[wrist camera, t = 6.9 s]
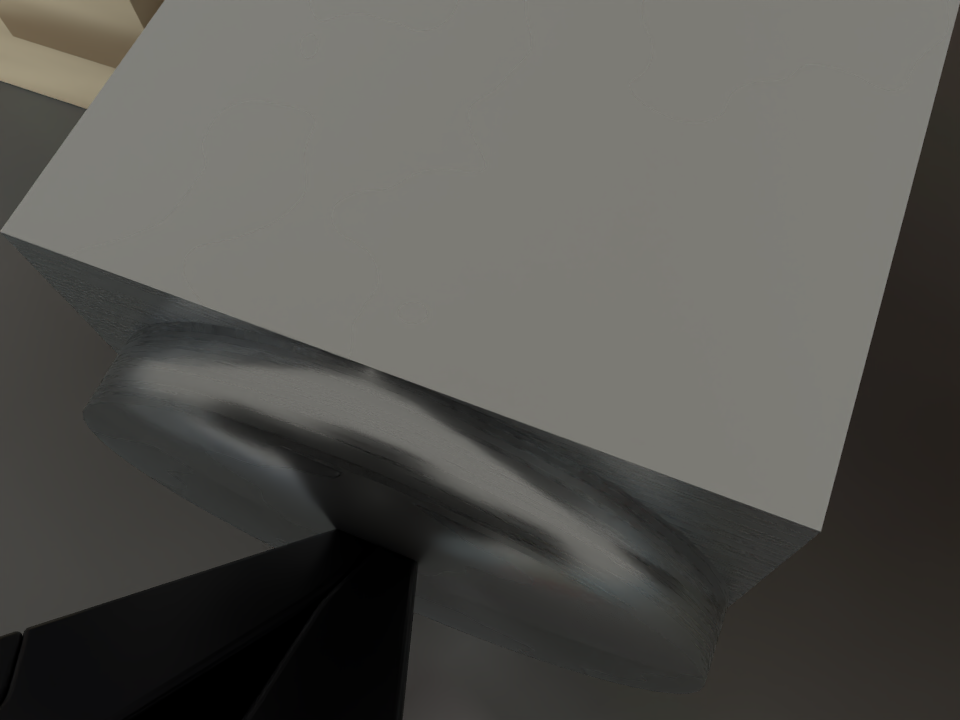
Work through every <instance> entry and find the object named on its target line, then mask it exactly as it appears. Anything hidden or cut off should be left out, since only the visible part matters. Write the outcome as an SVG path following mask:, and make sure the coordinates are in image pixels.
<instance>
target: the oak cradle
mask: <svg viewBox="0 0 960 720" xmlns="http://www.w3.org/2000/svg"><path fill="white" fill-rule="evenodd" d="M163 2H164V0H0V81H3V82H6V83H9V84H12V85H15V86H18V87H21V88H24V89H27V90H31V91H34V92H37V93H40V94H43V95H46V96H49V97H52V98H55V99H58V100H61V101H64V102H67V103H70V104H73V105H76V106H79V107H82V108H86V109H88V107H89V106H90V104H91V103H92V102H93V100H94V99H95V97H96V96H97V95H98V93H99V92H100V90H101V89H102V88H103V86H104V85H105V83H106V82H107V81H108V79H109V78H110V76H111V75H112V73H113V72H114V71H115V69H116V68H117V66H118V65H119V64H120V62H121V61H122V59H123V58H124V57H125V55H126V54H127V52H128V51H129V50H130V48H131V47H132V45H133V44H134V43H135V41H136V40H137V38H138V37H139V36H140V34H141V33H142V31H143V30H144V29H145V27H146V26H147V24H148V23H149V21H150V20H151V19H152V17H153V16H154V14H155V13H156V12H157V10H158V9H159V7H160V6H161V5H162V3H163Z"/></svg>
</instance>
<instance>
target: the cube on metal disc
mask: <svg viewBox="0 0 960 720" xmlns="http://www.w3.org/2000/svg"><path fill="white" fill-rule="evenodd" d="M959 4H960V0H164V2H163V3H162V5H161V6H160V7H159V9H158V10H157V12H156V13H155V14H154V16H153V17H152V19H151V20H150V21H149V23H148V24H147V26H146V27H145V29H144V30H143V31H142V33H141V34H140V36H139V37H138V38H137V40H136V41H135V43H134V44H133V45H132V47H131V48H130V50H129V51H128V52H127V54H126V55H125V57H124V58H123V59H122V61H121V62H120V64H119V65H118V66H117V68H116V69H115V71H114V72H113V73H112V75H111V76H110V78H109V79H108V81H107V82H106V83H105V85H104V86H103V88H102V89H101V90H100V92H99V93H98V95H97V96H96V97H95V99H94V100H93V102H92V103H91V104H90V106H89V107H88V109H87V110H86V111H85V113H84V114H83V116H82V117H81V118H80V120H79V121H78V123H77V124H76V125H75V127H74V128H73V130H72V131H71V133H70V134H69V135H68V137H67V138H66V140H65V141H64V142H63V144H62V145H61V147H60V148H59V149H58V151H57V152H56V154H55V155H54V156H53V158H52V159H51V161H50V162H49V163H48V165H47V166H46V168H45V169H44V170H43V172H42V173H41V175H40V176H39V177H38V179H37V180H36V182H35V183H34V185H33V186H32V187H31V189H30V190H29V192H28V193H27V194H26V196H25V197H24V199H23V200H22V201H21V203H20V204H19V206H18V207H17V208H16V210H15V211H14V213H13V214H12V215H11V217H10V218H9V220H8V221H7V222H6V224H5V225H4V227H3V228H2V229H1V231H0V232H1V233H2V234H3V235H4V237H5V238H6V239H7V240H8V241H9V242H10V243H11V244H12V245H13V246H14V247H15V248H16V249H17V250H18V251H19V252H20V253H21V254H22V255H23V256H24V257H25V258H26V259H27V260H28V261H29V262H30V263H31V265H32V266H33V267H34V268H35V269H36V270H37V271H38V272H39V273H40V274H41V275H42V276H43V277H44V278H45V279H46V280H47V281H48V282H49V283H50V284H51V285H52V286H53V287H54V288H55V289H56V290H57V291H58V293H59V294H60V295H61V296H62V297H63V298H64V299H65V300H66V301H67V302H68V303H69V304H70V305H71V306H72V307H73V308H74V309H75V310H76V311H77V312H78V313H79V314H80V315H81V316H82V317H83V318H84V319H85V321H86V322H87V323H88V324H89V325H90V326H91V327H92V328H93V329H94V330H95V331H96V332H97V333H98V334H99V335H100V336H101V337H102V338H103V339H104V340H105V341H106V342H107V343H108V344H109V345H110V346H111V347H112V349H113V350H114V351H115V352H116V353H117V354H118V355H117V357H116V358H115V360H114V362H113V363H112V365H111V367H110V368H109V370H108V372H107V373H106V375H105V376H104V378H103V380H102V381H101V383H100V385H99V386H98V388H97V389H96V391H95V393H94V394H93V396H92V398H91V399H90V401H89V402H88V404H87V406H86V407H85V409H84V411H83V418H84V421H85V422H86V424H87V425H88V427H89V428H90V430H91V431H92V432H93V433H94V434H95V435H96V436H97V437H98V438H99V439H100V440H101V441H102V442H103V443H105V444H106V445H107V446H108V447H109V448H110V449H112V450H113V451H114V452H115V453H117V454H118V455H119V456H121V457H122V458H123V459H125V460H126V461H127V462H129V463H130V464H131V465H133V466H134V467H136V468H137V469H139V470H140V471H142V472H143V473H145V474H146V475H148V476H149V477H151V478H152V479H154V480H155V481H157V482H158V483H160V484H162V485H163V486H165V487H166V488H168V489H170V490H171V491H173V492H174V493H176V494H178V495H179V496H181V497H183V498H185V499H186V500H188V501H190V502H191V503H193V504H195V505H196V506H198V507H200V508H202V509H203V510H205V511H207V512H209V513H211V514H212V515H214V516H216V517H218V518H220V519H221V520H223V521H225V522H227V523H229V524H231V525H232V526H234V527H236V528H238V529H240V530H242V531H244V532H245V533H247V534H249V535H251V536H253V537H255V538H257V539H259V540H261V541H263V542H265V543H267V544H269V545H271V546H273V547H274V548H277V547H280V546H283V545H287V544H290V543H293V542H296V541H299V540H302V539H305V538H308V537H311V536H314V535H318V534H321V533H324V532H327V531H330V530H333V529H339V530H342V531H344V532H346V533H349V534H351V535H354V536H356V537H359V538H361V539H364V540H366V541H369V542H371V543H372V544H374V545H375V546H376V547H378V546H381V547H383V548H386V549H388V550H391V551H393V552H396V553H398V554H401V555H403V556H406V557H408V558H411V559H413V560H415V561H417V562H418V572H417V582H416V592H415V602H414V611H413V612H415V613H418V614H420V615H423V616H425V617H428V618H430V619H432V620H435V621H437V622H440V623H442V624H445V625H447V626H450V627H452V628H455V629H457V630H460V631H462V632H465V633H467V634H470V635H472V636H475V637H478V638H480V639H483V640H486V641H488V642H491V643H494V644H496V645H499V646H502V647H504V648H507V649H510V650H513V651H515V652H518V653H521V654H524V655H527V656H530V657H532V658H535V659H538V660H541V661H544V662H547V663H550V664H553V665H556V666H559V667H562V668H566V669H569V670H572V671H576V672H579V673H582V674H585V675H589V676H592V677H596V678H599V679H603V680H607V681H610V682H614V683H618V684H623V685H627V686H631V687H635V688H640V689H646V690H651V691H656V692H665V693H674V694H689V693H693V692H697V691H700V690H701V689H702V688H703V687H704V685H705V682H706V678H707V675H708V671H709V668H710V665H711V661H712V658H713V654H714V651H715V648H716V644H717V641H718V637H719V634H720V630H721V627H722V624H723V620H724V617H725V613H726V610H727V608H728V607H729V606H730V605H731V604H733V603H734V602H735V601H736V600H737V599H739V598H740V597H741V596H742V595H744V594H745V593H746V592H747V591H749V590H750V589H751V588H752V587H754V586H755V585H756V584H757V583H758V582H760V581H761V580H762V579H763V578H765V577H766V576H767V575H768V574H770V573H771V572H772V571H773V570H774V569H776V568H777V567H778V566H779V565H781V564H782V563H783V562H784V561H786V560H787V559H788V558H789V557H790V556H792V555H793V554H794V553H795V552H797V551H798V550H799V549H800V548H802V547H803V546H804V545H805V544H806V543H808V542H809V541H810V540H811V539H813V538H814V537H815V536H816V535H818V534H819V533H820V532H821V530H822V526H823V522H824V518H825V514H826V511H827V507H828V503H829V499H830V495H831V492H832V488H833V484H834V480H835V476H836V472H837V469H838V465H839V461H840V457H841V453H842V450H843V446H844V442H845V438H846V434H847V431H848V427H849V423H850V419H851V415H852V412H853V408H854V404H855V400H856V396H857V393H858V389H859V385H860V381H861V377H862V373H863V370H864V366H865V362H866V358H867V354H868V351H869V347H870V343H871V339H872V335H873V332H874V328H875V324H876V320H877V316H878V313H879V309H880V305H881V301H882V297H883V294H884V290H885V286H886V282H887V278H888V274H889V271H890V267H891V263H892V259H893V255H894V252H895V248H896V244H897V240H898V236H899V233H900V229H901V225H902V221H903V217H904V214H905V210H906V206H907V202H908V198H909V195H910V191H911V187H912V183H913V179H914V175H915V172H916V168H917V164H918V160H919V156H920V153H921V149H922V145H923V141H924V137H925V134H926V130H927V126H928V122H929V118H930V115H931V111H932V107H933V103H934V99H935V96H936V92H937V88H938V84H939V80H940V76H941V73H942V69H943V65H944V61H945V57H946V54H947V50H948V46H949V42H950V38H951V35H952V31H953V27H954V23H955V19H956V16H957V12H958V8H959Z"/></svg>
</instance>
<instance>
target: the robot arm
mask: <svg viewBox="0 0 960 720" xmlns="http://www.w3.org/2000/svg"><path fill="white" fill-rule="evenodd" d="M417 572H418V562H417V561H415V560H413V559H411V558H408V557H406V556H403V555H401V554H398V553H396V552H393V551H391V550H388V549H386V548H383V547H381V546H378V547H376V546H375V545H374V544H372V543H371V542H369V541H366V540H364V539H361V538H359V537H356V536H354V535H351V534H349V533H346V532H344V531H342V530H339V529H333V530H330V531H327V532H324V533H321V534H318V535H314V536H311V537H308V538H305V539H302V540H299V541H296V542H293V543H290V544H287V545H283V546H280V547H277V548H274V549H271V550H268V551H265V552H262V553H259V554H255V555H252V556H249V557H246V558H243V559H240V560H237V561H234V562H231V563H228V564H224V565H221V566H218V567H215V568H212V569H209V570H206V571H203V572H200V573H197V574H193V575H190V576H187V577H184V578H181V579H178V580H175V581H172V582H169V583H166V584H162V585H159V586H156V587H153V588H150V589H147V590H144V591H141V592H138V593H134V594H131V595H128V596H125V597H122V598H119V599H116V600H113V601H110V602H107V603H103V604H100V605H97V606H94V607H91V608H88V609H85V610H82V611H79V612H76V613H72V614H69V615H66V616H63V617H60V618H57V619H54V620H51V621H48V622H44V623H41V624H38V625H35V626H32V627H29V628H27V629H26V630H25V631H24V633H23V637H22V634H21V633H20V632H13V633H9V634H6V635H3V636H0V720H402V719H403V709H404V700H405V690H406V680H407V670H408V660H409V651H410V641H411V631H412V621H413V611H414V602H415V592H416V582H417Z"/></svg>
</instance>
